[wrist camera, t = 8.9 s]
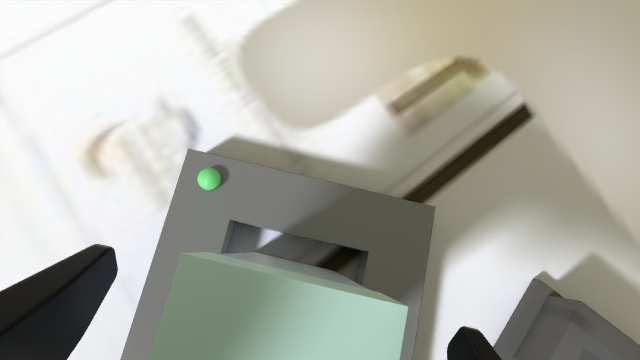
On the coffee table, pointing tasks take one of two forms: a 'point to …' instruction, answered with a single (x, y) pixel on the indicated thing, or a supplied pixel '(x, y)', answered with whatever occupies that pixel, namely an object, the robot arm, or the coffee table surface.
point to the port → (291, 218)
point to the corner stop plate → (560, 331)
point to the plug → (273, 312)
